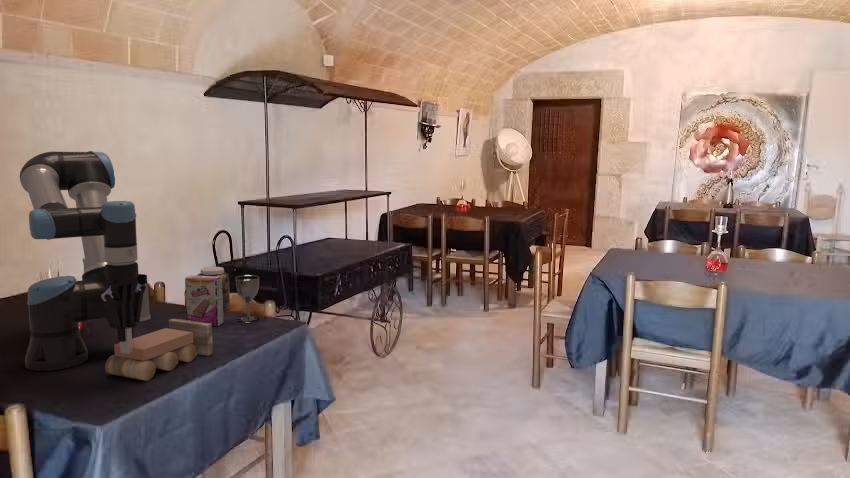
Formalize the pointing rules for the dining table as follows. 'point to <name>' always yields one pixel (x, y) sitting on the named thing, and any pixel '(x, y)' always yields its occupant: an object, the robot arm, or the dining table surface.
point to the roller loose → (185, 353)
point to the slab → (156, 344)
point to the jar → (225, 282)
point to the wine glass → (247, 290)
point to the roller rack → (166, 360)
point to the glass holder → (144, 298)
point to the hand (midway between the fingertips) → (126, 352)
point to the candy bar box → (204, 299)
